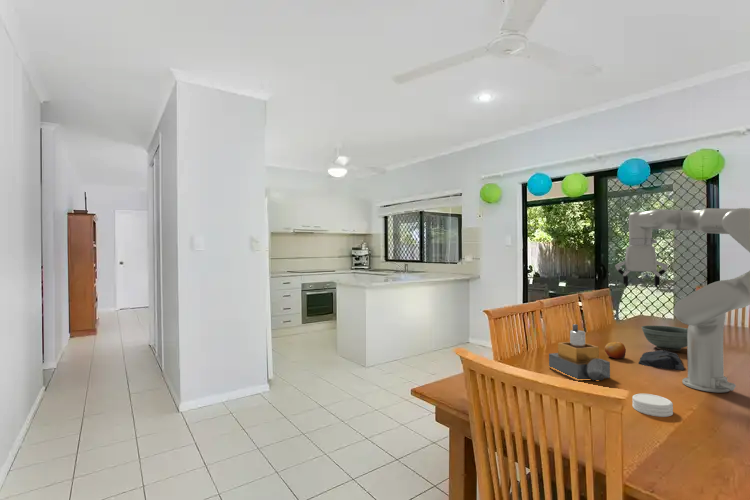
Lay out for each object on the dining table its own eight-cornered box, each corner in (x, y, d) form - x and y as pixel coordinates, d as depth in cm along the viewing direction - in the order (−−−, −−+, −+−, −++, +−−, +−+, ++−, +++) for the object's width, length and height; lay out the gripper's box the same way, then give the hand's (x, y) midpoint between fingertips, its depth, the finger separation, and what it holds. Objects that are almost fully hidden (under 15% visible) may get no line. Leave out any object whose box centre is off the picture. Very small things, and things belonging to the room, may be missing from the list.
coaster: (634, 401, 123) (634, 390, 123) (673, 409, 117) (673, 397, 117) (630, 412, 116) (630, 400, 116) (672, 420, 109) (672, 408, 109)
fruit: (634, 356, 168) (624, 340, 168) (618, 366, 168) (609, 350, 168) (623, 351, 176) (613, 336, 176) (608, 360, 176) (598, 345, 176)
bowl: (651, 353, 177) (651, 331, 177) (635, 342, 197) (635, 323, 197) (706, 356, 171) (705, 333, 171) (683, 345, 191) (683, 324, 191)
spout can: (588, 358, 149) (588, 326, 149) (576, 359, 148) (576, 327, 148) (578, 354, 154) (578, 323, 154) (567, 355, 153) (567, 324, 153)
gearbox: (614, 379, 143) (614, 349, 143) (581, 383, 140) (581, 352, 140) (578, 365, 161) (578, 339, 161) (549, 368, 158) (548, 341, 158)
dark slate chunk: (684, 359, 168) (683, 349, 168) (684, 373, 151) (684, 360, 151) (641, 354, 178) (641, 344, 178) (637, 366, 161) (637, 354, 161)
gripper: (665, 242, 152) (666, 286, 152) (614, 243, 161) (614, 284, 161) (669, 242, 146) (670, 288, 146) (615, 243, 154) (616, 286, 154)
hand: (641, 286), depth 153 cm, fingers open, 9 cm apart
